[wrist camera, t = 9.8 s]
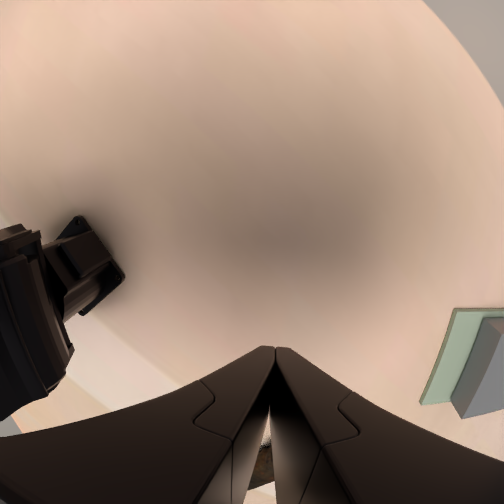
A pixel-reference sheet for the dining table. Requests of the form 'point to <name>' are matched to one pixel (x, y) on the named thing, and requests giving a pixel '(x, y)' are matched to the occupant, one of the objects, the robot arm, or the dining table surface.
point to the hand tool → (262, 469)
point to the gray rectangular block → (483, 373)
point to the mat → (455, 353)
